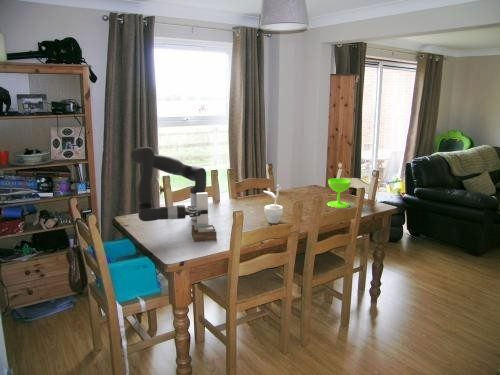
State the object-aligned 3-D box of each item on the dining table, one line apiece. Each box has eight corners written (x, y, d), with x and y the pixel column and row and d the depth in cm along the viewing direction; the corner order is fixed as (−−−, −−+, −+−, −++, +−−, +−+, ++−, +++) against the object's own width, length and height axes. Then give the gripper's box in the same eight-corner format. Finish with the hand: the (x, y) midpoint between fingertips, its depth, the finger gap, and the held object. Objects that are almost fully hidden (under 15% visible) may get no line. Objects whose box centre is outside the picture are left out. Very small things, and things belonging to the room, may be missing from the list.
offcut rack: (191, 233, 220) (191, 225, 219) (212, 231, 223) (212, 223, 222) (194, 242, 207) (194, 233, 206) (216, 240, 210) (216, 231, 209)
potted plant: (285, 220, 243) (286, 181, 238) (279, 226, 233) (280, 185, 227) (266, 218, 248) (266, 180, 242) (259, 223, 238) (260, 183, 232)
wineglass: (322, 203, 281) (323, 179, 277) (340, 201, 288) (341, 177, 284) (335, 209, 267) (337, 184, 263) (354, 206, 274) (356, 182, 270)
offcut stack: (194, 233, 214) (194, 224, 213) (212, 232, 217) (212, 223, 216) (195, 237, 208) (195, 228, 207) (214, 236, 211) (214, 227, 209)
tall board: (197, 230, 219) (196, 192, 214) (208, 229, 220) (207, 192, 215) (197, 232, 217) (196, 194, 211) (208, 231, 218) (207, 193, 213)
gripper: (176, 209, 205) (208, 207, 209) (175, 202, 218) (205, 200, 222) (177, 222, 206) (209, 220, 210) (175, 214, 220) (205, 212, 224)
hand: (207, 210), depth 216 cm, fingers open, 5 cm apart
